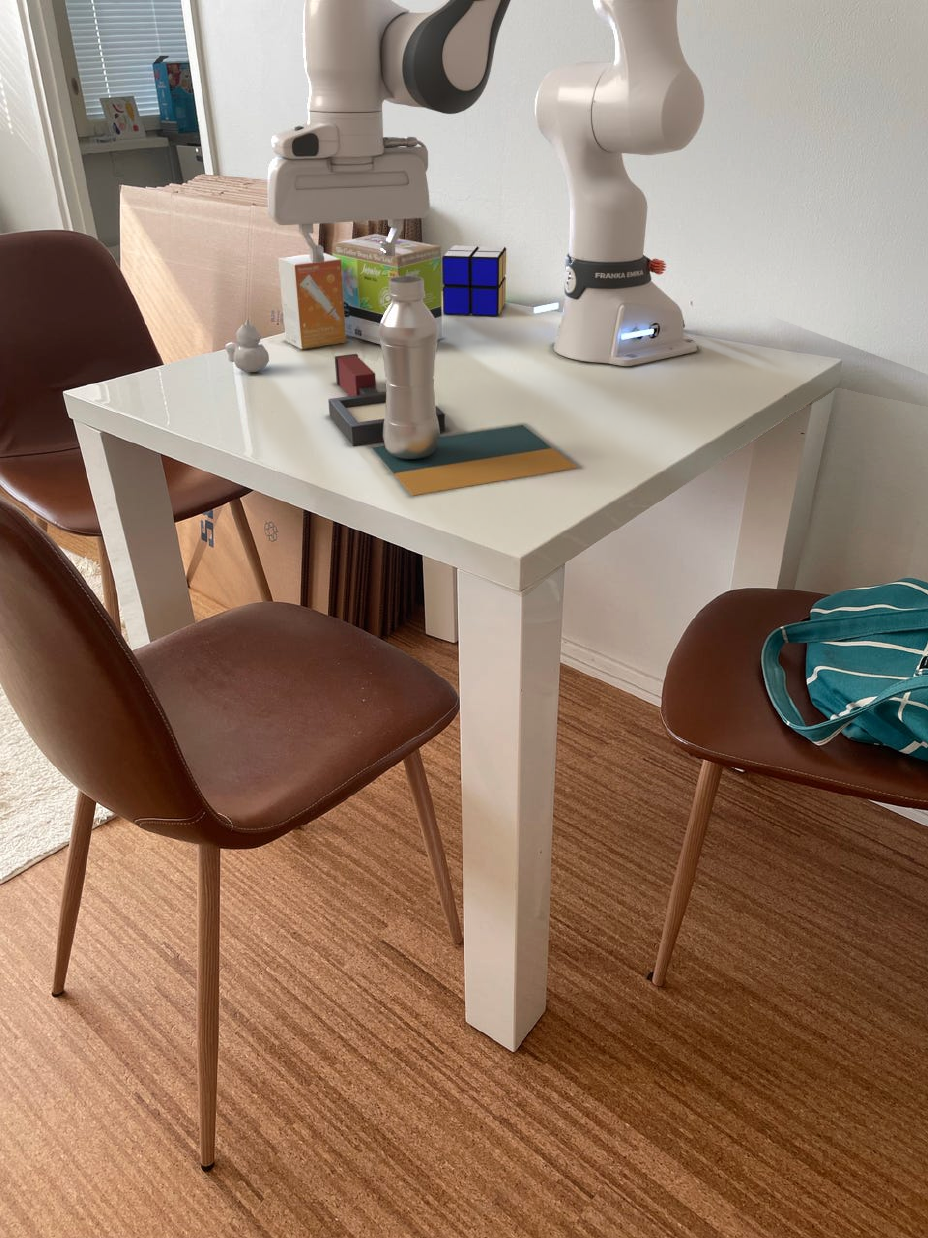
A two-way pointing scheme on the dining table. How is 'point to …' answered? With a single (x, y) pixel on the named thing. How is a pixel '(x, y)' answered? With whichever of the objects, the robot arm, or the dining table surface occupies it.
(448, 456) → the mat
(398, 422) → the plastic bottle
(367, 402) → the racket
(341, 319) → the small box
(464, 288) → the puzzle cube
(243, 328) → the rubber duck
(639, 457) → the dining table surface
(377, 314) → the tea box
